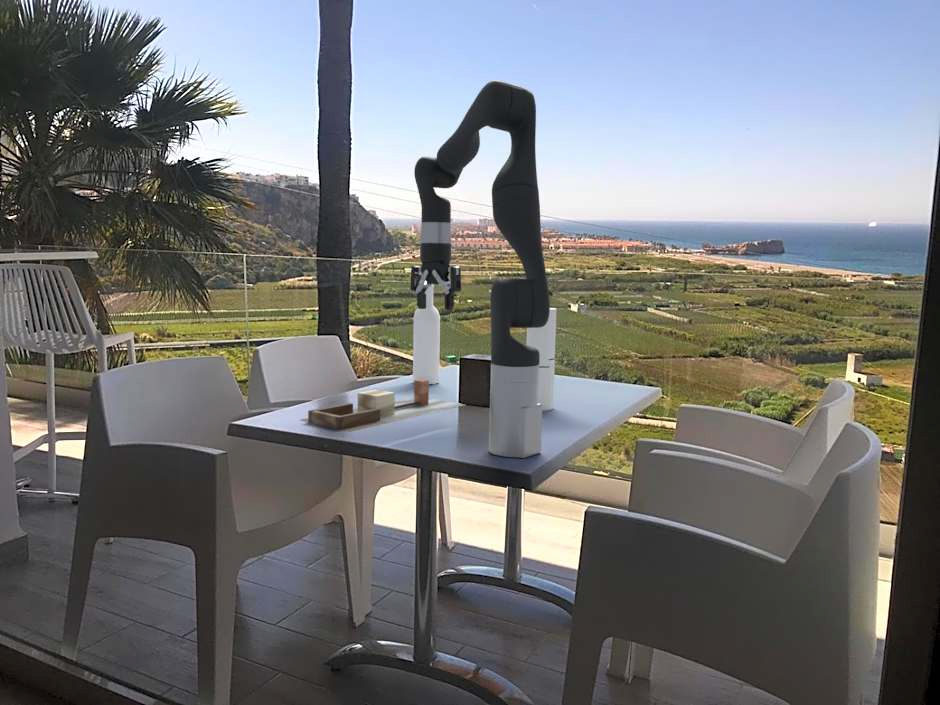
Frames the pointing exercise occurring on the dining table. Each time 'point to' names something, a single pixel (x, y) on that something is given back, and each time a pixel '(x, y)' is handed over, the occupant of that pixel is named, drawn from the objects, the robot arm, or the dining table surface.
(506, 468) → the dining table surface
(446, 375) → the dining table surface
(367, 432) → the dining table surface
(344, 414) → the lane rack
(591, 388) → the dining table surface
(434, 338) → the bottle
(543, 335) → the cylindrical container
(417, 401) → the rod-linked blocks
